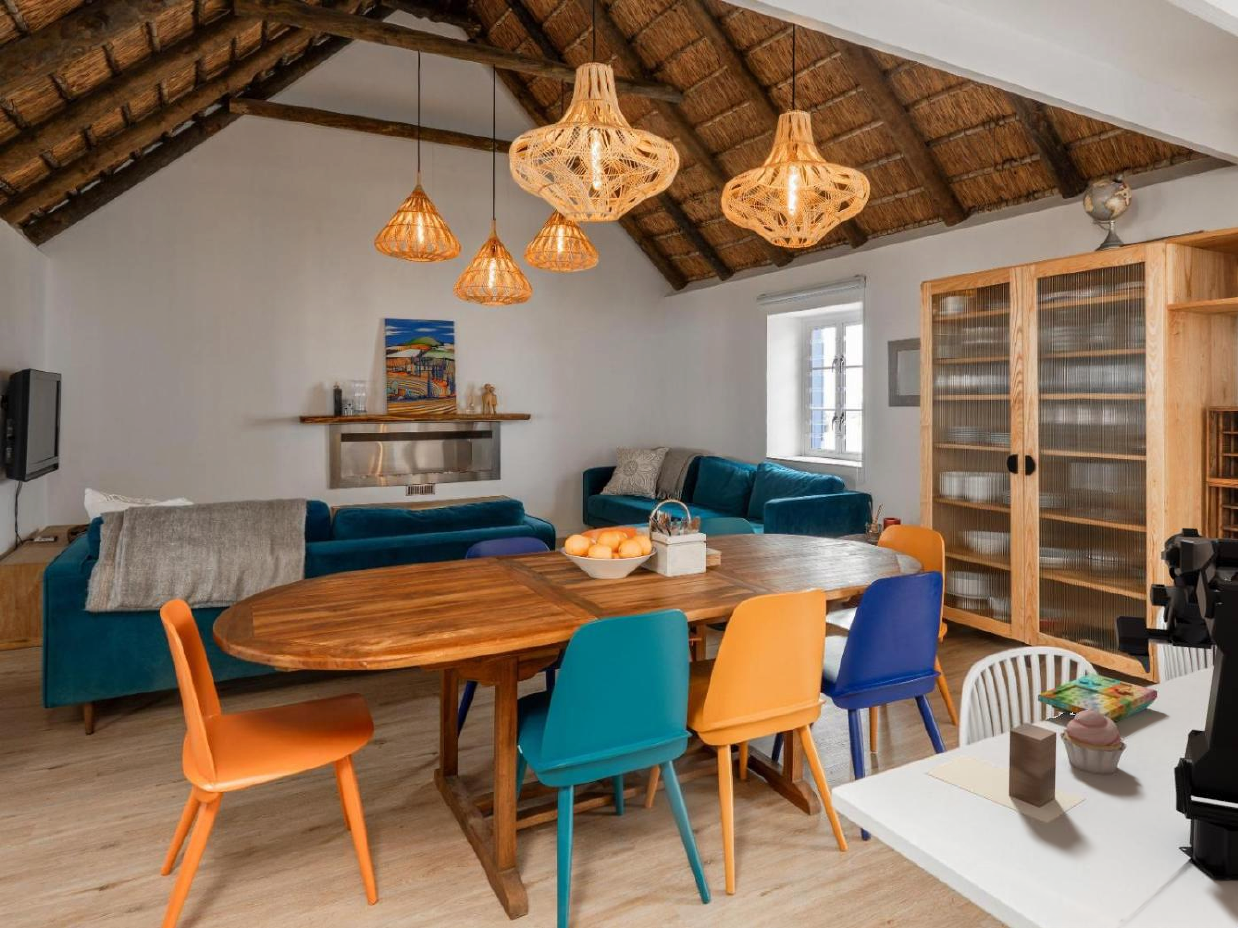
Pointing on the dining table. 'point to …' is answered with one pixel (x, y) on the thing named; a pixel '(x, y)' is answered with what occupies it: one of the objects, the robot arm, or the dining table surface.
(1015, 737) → the walnut block
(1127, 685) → the puzzle game
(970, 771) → the beige mat
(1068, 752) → the cupcake
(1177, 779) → the robot arm
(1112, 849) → the dining table surface
